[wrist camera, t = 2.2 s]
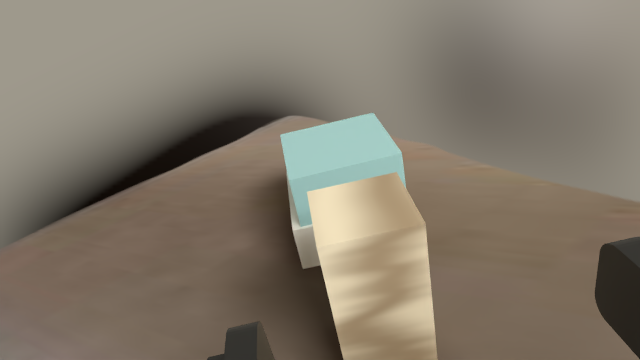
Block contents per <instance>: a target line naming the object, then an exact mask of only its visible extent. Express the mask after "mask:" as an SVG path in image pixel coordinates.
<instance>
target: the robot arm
mask: <svg viewBox="0 0 640 360" xmlns="http://www.w3.org/2000/svg"><path fill="white" fill-rule="evenodd" d="M595 300H596V303H597V306H598V309H599V311H600V313H601V315H602V316H603V318H604V319H605V320H606V322H607V323H608V324H609V325H610V326H611V327H612V328H613V329H614V331H615V332H616V333H617V334H618V335H619V336H620V337H621V338H622V340H623V341H624V342H625V343H626V344H627V345H628V346H629V347H630V349H631V350H632V351H633V352H634V353H635V354H636V355H637V357H638V358H639V359H640V237H633V238H629V239H625V240H620V241H616V242H611V243H607V244H604V245H603V246H602V247H601V249H600V255H599V263H598V271H597V279H596V287H595ZM207 360H275V359H274V356H273V354H272V351H271V348H270V345H269V342H268V340H267V337H266V334H265V331H264V328H263V326H262V324H261V322H260V321H259V322H254V323H250V324H245V325H241V326H237V327H232V328H228V330H227V333H226V342H225V353H224V354H221V355H217V356H212V357H208V359H207Z"/></svg>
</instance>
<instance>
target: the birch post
mask: <svg viewBox="0 0 640 360" xmlns="http://www.w3.org/2000/svg"><path fill="white" fill-rule="evenodd" d="M307 196H308V201H309V207H310V213H311V219H312V224H313V230H314V236H315V241H316V247H317V251H318V256H319V260H320V264H321V268H322V272H323V276H324V281H325V285H326V289H327V293H328V297H329V301H330V306H331V310H332V314H333V318H334V322H335V326H336V331H337V335H338V339H339V343H340V347H341V351H342V355H343V360H437V349H436V338H435V327H434V316H433V304H432V293H431V282H430V271H429V259H428V248H427V237H426V226H425V222H424V220H423V218H422V217H421V215H420V213H419V211H418V209H417V208H416V206H415V204H414V202H413V200H412V199H411V197H410V195H409V193H408V191H407V190H406V188H405V186H404V184H403V182H402V181H401V179H400V177H399V175H398V173H397V172H394V173H390V174H385V175H381V176H376V177H372V178H367V179H363V180H358V181H353V182H349V183H344V184H340V185H335V186H331V187H326V188H322V189H317V190H313V191H308V192H307Z"/></svg>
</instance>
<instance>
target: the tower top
mask: <svg viewBox="0 0 640 360" xmlns="http://www.w3.org/2000/svg"><path fill="white" fill-rule="evenodd" d="M280 136H281V142H282V147H283V152H284V158H285V163H286V168H287V174H288V179H289V183H290V187H291V191H292V195H293V199H294V202H295V206H296V210H297V214H298V218H299V222H300V226H301V227H303V226H307V225H311V224H312V219H311V213H310V207H309V201H308V196H307V192H308V191H313V190H317V189H322V188H326V187H331V186H335V185H340V184H344V183H349V182H353V181H358V180H363V179H367V178H372V177H376V176H381V175H385V174H390V173H394V172H397V173H398V175H399V177H400V179H401V181H402V182H403V184H404V186H405V188H406V185H405V176H404V168H403V159H402V152H401V151H400V150H399V148H398V147H397V145H396V144H395V143H394V141H393V140H392V138H391V137H390V136H389V134H388V133H387V131H386V130H385V129H384V128H383V126H382V125H381V123H380V122H379V120H378V119H377V118H376V116H375V115H374V113H370V114H366V115H361V116H357V117H353V118H349V119H345V120H341V121H336V122H332V123H328V124H324V125H319V126H315V127H311V128H307V129H303V130H298V131H294V132H290V133H286V134H282V135H280Z"/></svg>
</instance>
